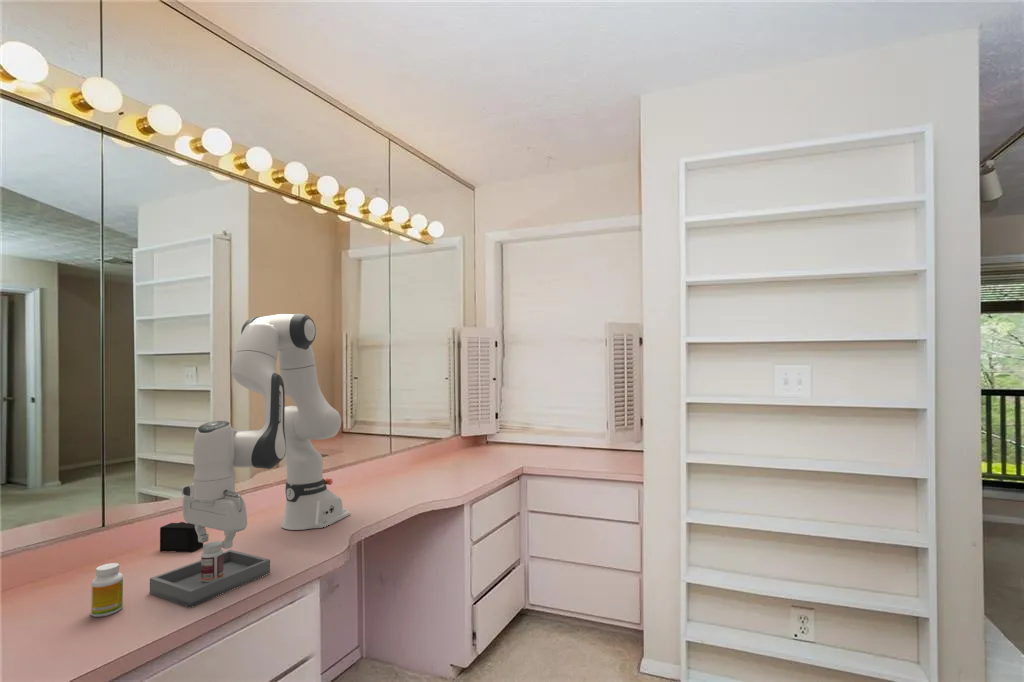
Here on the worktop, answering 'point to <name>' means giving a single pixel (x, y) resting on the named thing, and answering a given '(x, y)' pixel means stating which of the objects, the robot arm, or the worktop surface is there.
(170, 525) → the digital camera
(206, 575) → the pill bottle
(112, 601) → the supplement bottle
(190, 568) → the tray
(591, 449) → the worktop surface
